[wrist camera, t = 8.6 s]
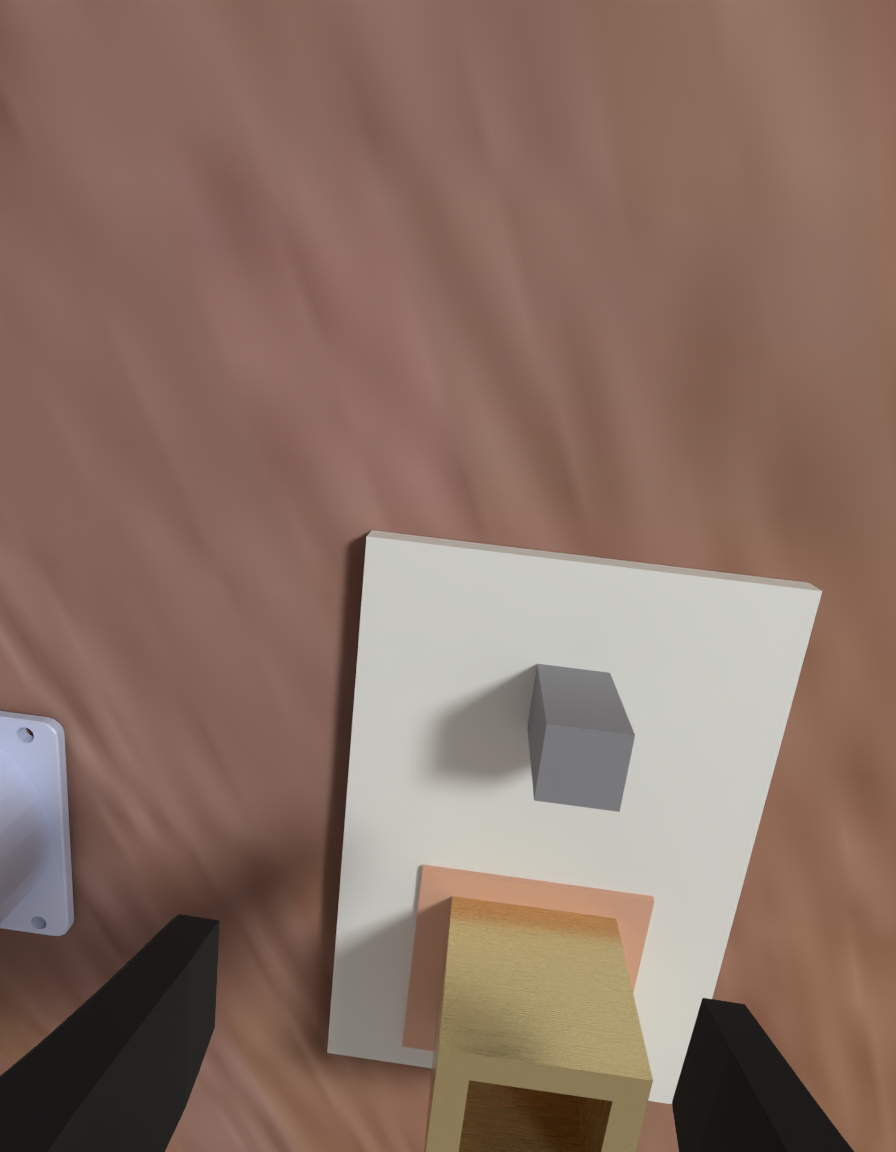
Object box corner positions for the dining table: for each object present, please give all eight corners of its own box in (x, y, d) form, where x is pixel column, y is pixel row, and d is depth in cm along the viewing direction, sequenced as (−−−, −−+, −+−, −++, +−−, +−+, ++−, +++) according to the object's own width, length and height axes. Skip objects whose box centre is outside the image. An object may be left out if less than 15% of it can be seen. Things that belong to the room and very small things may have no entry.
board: (332, 1031, 24) (298, 1166, 20) (372, 530, 19) (336, 570, 15) (677, 1082, 23) (715, 1231, 19) (808, 582, 18) (898, 639, 14)
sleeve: (436, 1023, 22) (419, 1200, 17) (452, 896, 21) (439, 1049, 16) (589, 1045, 22) (616, 1230, 17) (616, 918, 21) (653, 1080, 16)
